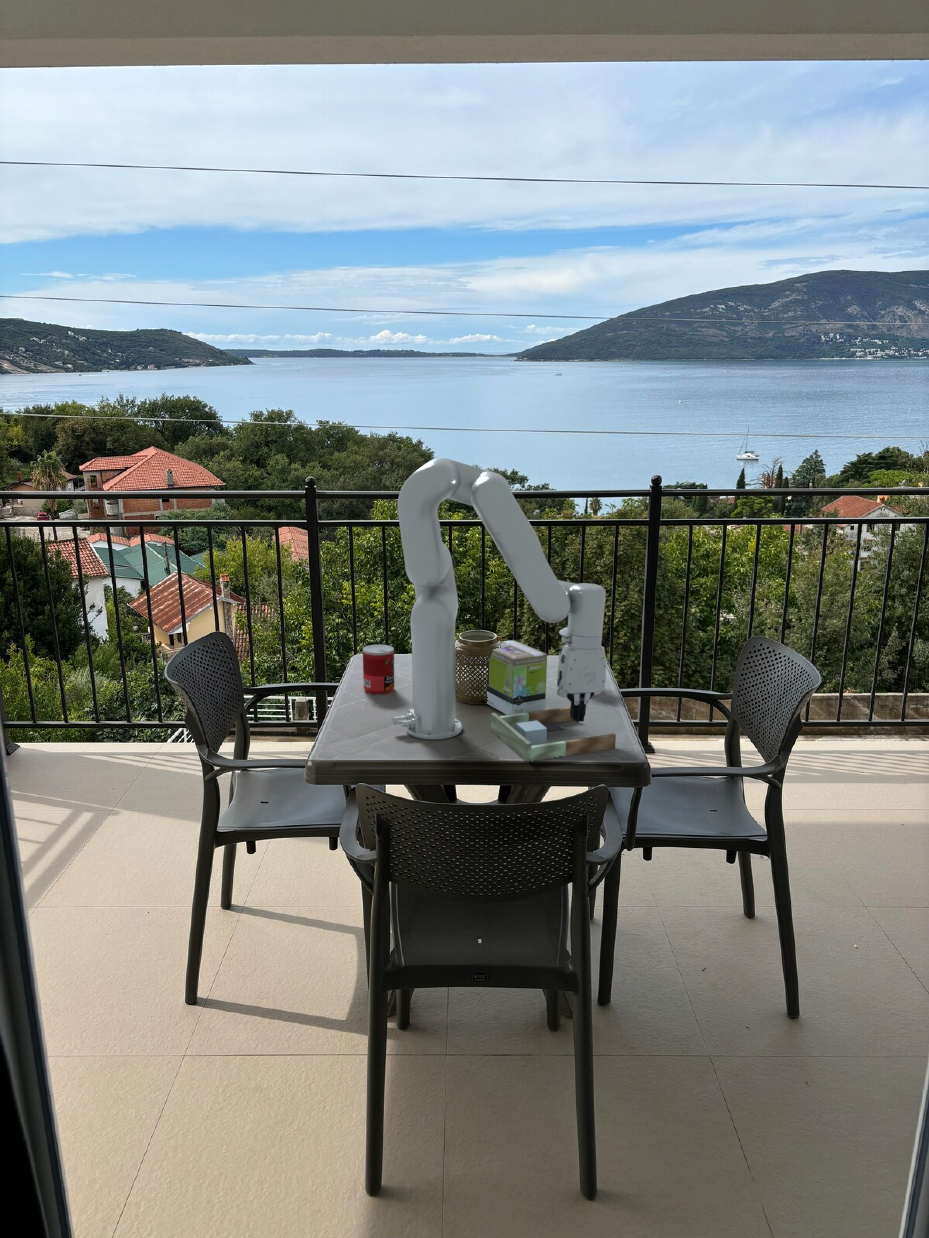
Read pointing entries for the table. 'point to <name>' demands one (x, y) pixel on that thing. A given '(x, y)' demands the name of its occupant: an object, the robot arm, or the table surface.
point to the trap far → (552, 726)
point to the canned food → (378, 669)
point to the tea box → (517, 678)
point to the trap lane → (524, 748)
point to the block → (533, 732)
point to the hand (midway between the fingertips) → (577, 719)
